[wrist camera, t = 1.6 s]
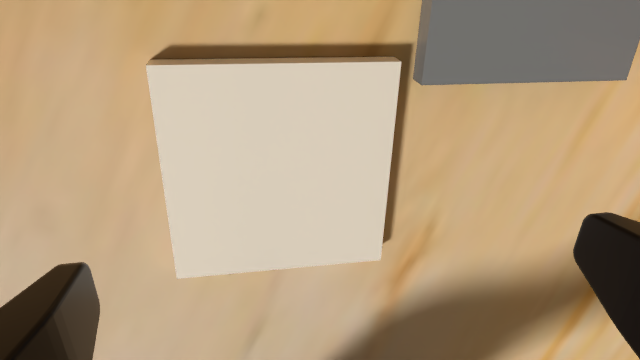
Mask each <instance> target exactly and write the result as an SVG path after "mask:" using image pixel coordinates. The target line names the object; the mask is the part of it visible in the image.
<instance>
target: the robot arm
mask: <svg viewBox="0 0 640 360" xmlns="http://www.w3.org/2000/svg"><path fill="white" fill-rule="evenodd" d="M573 254H574V259H575V261H576V263H577V265H578V266H579V268H580V270H581V271H582V273H583V274H584V276H585V278H586V279H587V281H588V283H589V284H590V286H591V287H592V289H593V291H594V292H595V294H596V296H597V297H598V299H599V300H600V302H601V304H602V305H603V307H604V308H605V310H606V312H607V313H608V315H609V317H610V318H611V320H612V321H613V323H614V324H615V326H616V327H617V329H618V330H619V332H620V333H621V335H622V336H623V337H624V339H625V340H626V341H627V343H628V344H629V345H630V347H631V348H632V349H633V351H634V352H635V353H636V355H637V356H638V357H639V359H640V222H637V221H634V220H631V219H628V218H625V217H622V216H619V215H616V214H613V213H607V212H606V213H596V214H590V215H588V216H586V217H585V219H584V220H583V222H582V225H581V228H580V231H579V234H578V237H577V240H576V243H575V246H574V249H573ZM99 315H100V304H99V299H98V295H97V291H96V288H95V284H94V281H93V277H92V274H91V270H90V268H89V266H88V265H87V264H86V263H84V262H80V263H69V264H60V265H57V266H56V267H54V268H53V269H52V270H50V271H49V272H48V273H46V274H45V275H44V276H42V277H41V278H40V279H38V280H37V281H36V282H34V283H33V284H32V285H30V286H29V287H28V288H26V289H25V290H24V291H22V292H21V293H20V294H18V295H17V296H15V297H14V298H13V299H11V300H10V301H9V302H7V303H6V304H5V305H3V306H2V307H1V308H0V360H92V359H93V352H94V346H95V340H96V334H97V328H98V322H99Z"/></svg>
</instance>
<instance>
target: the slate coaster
mask: <svg viewBox="0 0 640 360" xmlns="http://www.w3.org/2000/svg"><path fill="white" fill-rule="evenodd" d="M639 40H640V0H422V7H421V16H420V24H419V33H418V41H417V50H416V58H415V67H414V75H413V79H414V80H415V81H416V82H418V83H419V84H421V85H447V84H489V83H530V82H572V81H614V80H627V76H628V73H629V70H630V67H631V64H632V61H633V58H634V55H635V52H636V49H637V46H638V43H639Z"/></svg>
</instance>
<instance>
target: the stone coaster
mask: <svg viewBox="0 0 640 360" xmlns="http://www.w3.org/2000/svg"><path fill="white" fill-rule="evenodd" d="M146 69H147V76H148V83H149V90H150V97H151V104H152V111H153V118H154V125H155V132H156V138H157V145H158V152H159V159H160V166H161V173H162V180H163V187H164V194H165V201H166V207H167V214H168V221H169V228H170V235H171V242H172V249H173V256H174V263H175V270H176V276H177V279H180V278H190V277H201V276H212V275H223V274H234V273H245V272H256V271H267V270H277V269H288V268H299V267H310V266H321V265H332V264H343V263H353V262H364V261H375V260H381V252H382V243H383V233H384V224H385V214H386V205H387V195H388V185H389V176H390V166H391V157H392V147H393V138H394V128H395V119H396V109H397V100H398V90H399V81H400V71H401V61H400V60H398V59H397V58H395V57H315V58H236V59H156V60H149V62H148V63H147V64H146Z"/></svg>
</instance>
